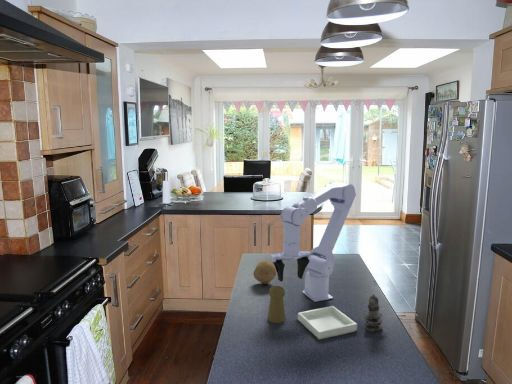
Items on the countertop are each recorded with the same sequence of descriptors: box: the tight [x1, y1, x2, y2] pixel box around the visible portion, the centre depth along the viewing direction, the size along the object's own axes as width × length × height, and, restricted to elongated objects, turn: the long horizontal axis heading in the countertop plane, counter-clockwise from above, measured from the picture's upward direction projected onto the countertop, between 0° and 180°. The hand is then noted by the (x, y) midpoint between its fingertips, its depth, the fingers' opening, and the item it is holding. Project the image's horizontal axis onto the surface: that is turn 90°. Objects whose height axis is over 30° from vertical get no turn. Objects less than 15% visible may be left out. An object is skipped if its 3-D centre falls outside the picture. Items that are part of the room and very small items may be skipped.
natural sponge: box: [252, 259, 277, 285], centre depth 161 cm, size 9×9×10 cm
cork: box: [267, 285, 287, 324], centre depth 132 cm, size 6×6×11 cm
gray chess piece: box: [363, 294, 384, 333], centre depth 125 cm, size 6×6×12 cm
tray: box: [297, 305, 358, 340], centre depth 129 cm, size 14×14×2 cm
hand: (290, 279), depth 140 cm, fingers open, 7 cm apart
